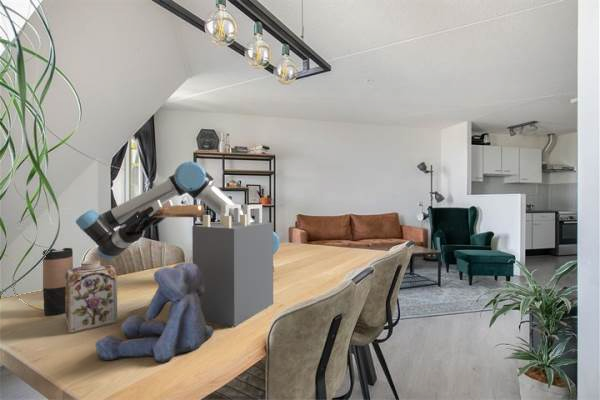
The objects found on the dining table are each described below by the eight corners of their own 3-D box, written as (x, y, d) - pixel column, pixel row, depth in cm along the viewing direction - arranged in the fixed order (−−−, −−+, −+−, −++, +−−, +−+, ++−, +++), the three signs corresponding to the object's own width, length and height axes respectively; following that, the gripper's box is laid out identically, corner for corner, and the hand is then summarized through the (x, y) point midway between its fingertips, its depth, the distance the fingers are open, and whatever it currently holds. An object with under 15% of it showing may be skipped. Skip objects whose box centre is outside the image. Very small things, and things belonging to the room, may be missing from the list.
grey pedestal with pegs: (236, 297, 113) (235, 204, 112) (273, 303, 106) (273, 204, 105) (192, 317, 94) (192, 205, 94) (234, 327, 87) (234, 206, 87)
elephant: (139, 323, 90) (139, 253, 89) (222, 327, 87) (222, 254, 87) (83, 362, 69) (82, 270, 69) (190, 367, 67) (190, 273, 67)
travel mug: (56, 317, 94) (56, 252, 94) (36, 315, 96) (36, 251, 95) (79, 308, 102) (78, 248, 101) (60, 306, 103) (59, 247, 103)
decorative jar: (68, 335, 82) (67, 268, 82) (64, 321, 91) (64, 261, 91) (119, 322, 90) (118, 261, 90) (111, 311, 99) (110, 256, 99)
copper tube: (142, 219, 109) (139, 208, 108) (152, 215, 112) (149, 204, 111) (197, 218, 97) (194, 206, 96) (206, 214, 100) (203, 203, 99)
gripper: (151, 240, 121) (188, 211, 112) (108, 246, 106) (147, 214, 97) (145, 223, 123) (181, 194, 114) (101, 227, 108) (139, 193, 98)
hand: (165, 203), depth 105 cm, fingers closed on copper tube, 4 cm apart
